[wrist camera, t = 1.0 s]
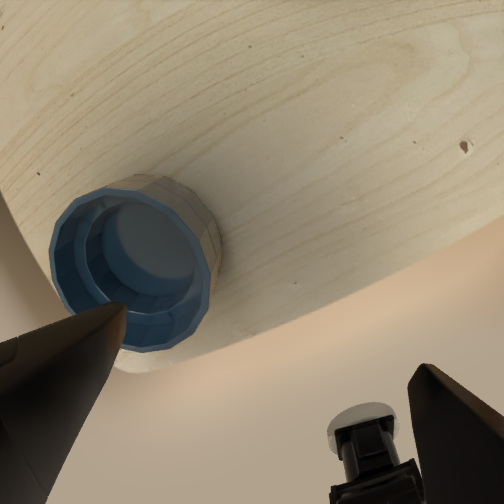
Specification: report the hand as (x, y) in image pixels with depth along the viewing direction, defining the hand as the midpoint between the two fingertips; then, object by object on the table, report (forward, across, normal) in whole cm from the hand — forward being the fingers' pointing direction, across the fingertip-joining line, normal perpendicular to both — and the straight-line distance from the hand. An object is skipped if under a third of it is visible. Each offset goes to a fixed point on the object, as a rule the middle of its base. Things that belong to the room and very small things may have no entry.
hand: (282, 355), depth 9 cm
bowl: (+12, +7, +3) cm, 14 cm away
